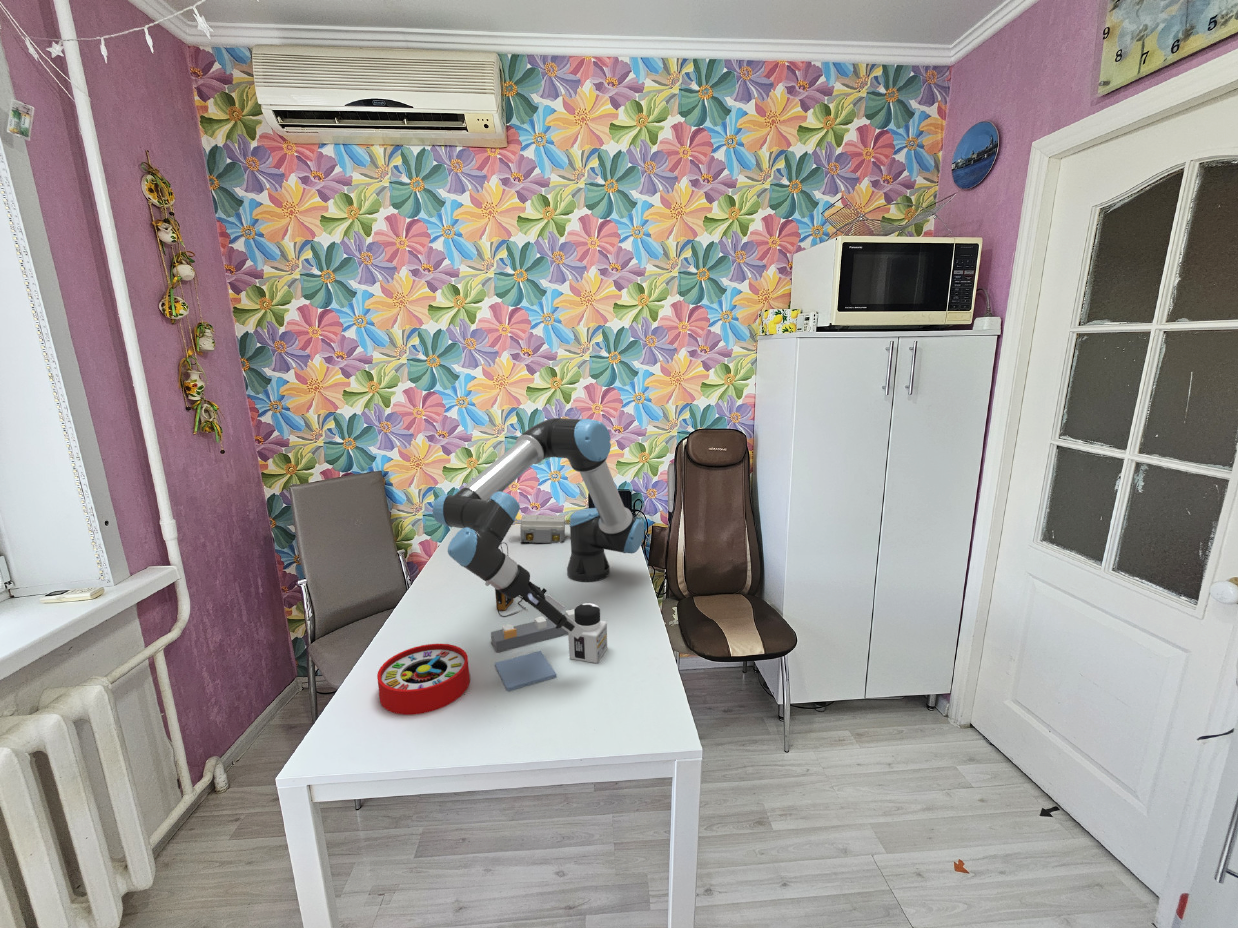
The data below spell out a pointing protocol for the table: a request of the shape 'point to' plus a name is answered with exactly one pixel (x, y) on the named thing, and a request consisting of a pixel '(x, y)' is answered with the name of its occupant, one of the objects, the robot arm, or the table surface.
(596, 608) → the container
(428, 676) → the toy clock
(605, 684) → the table surface
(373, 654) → the table surface
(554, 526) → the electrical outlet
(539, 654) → the pad
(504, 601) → the multimeter
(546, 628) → the breaker panel
